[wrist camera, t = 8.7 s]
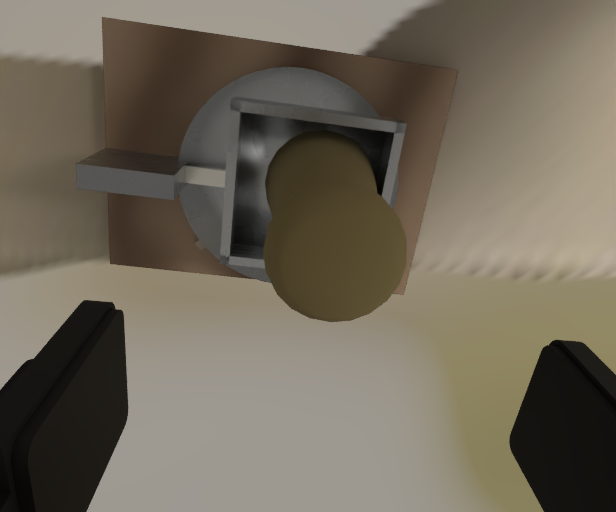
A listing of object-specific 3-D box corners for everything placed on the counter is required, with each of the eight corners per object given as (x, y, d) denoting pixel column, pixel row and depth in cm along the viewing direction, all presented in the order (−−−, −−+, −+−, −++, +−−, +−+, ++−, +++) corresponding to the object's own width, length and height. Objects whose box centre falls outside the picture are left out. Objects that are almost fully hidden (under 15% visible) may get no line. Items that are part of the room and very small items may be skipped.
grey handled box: (411, 83, 26) (437, 89, 21) (370, 279, 30) (384, 320, 26) (110, 39, 24) (68, 36, 20) (116, 251, 29) (83, 289, 24)
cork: (280, 248, 27) (274, 364, 17) (251, 145, 25) (223, 208, 14) (383, 224, 27) (440, 328, 16) (364, 117, 24) (416, 162, 14)
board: (451, 69, 27) (459, 70, 25) (399, 286, 32) (404, 296, 31) (110, 18, 25) (100, 16, 24) (116, 256, 31) (108, 265, 29)
